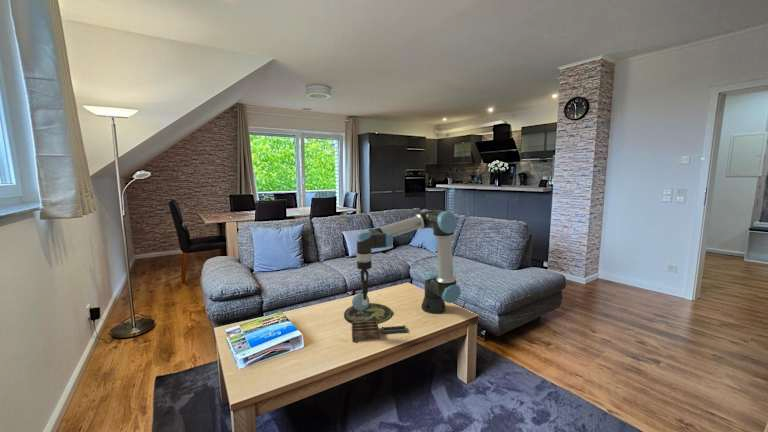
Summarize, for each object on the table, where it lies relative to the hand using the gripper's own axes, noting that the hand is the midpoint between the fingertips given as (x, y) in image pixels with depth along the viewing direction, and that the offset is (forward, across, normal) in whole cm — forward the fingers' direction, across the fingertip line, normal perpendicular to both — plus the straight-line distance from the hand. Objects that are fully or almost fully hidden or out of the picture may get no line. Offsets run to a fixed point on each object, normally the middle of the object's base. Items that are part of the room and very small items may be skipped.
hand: (364, 303), depth 171 cm
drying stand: (+18, -1, +16) cm, 24 cm away
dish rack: (+18, 0, 0) cm, 18 cm away
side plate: (+3, 0, 0) cm, 3 cm away
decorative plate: (+18, -25, +4) cm, 31 cm away
